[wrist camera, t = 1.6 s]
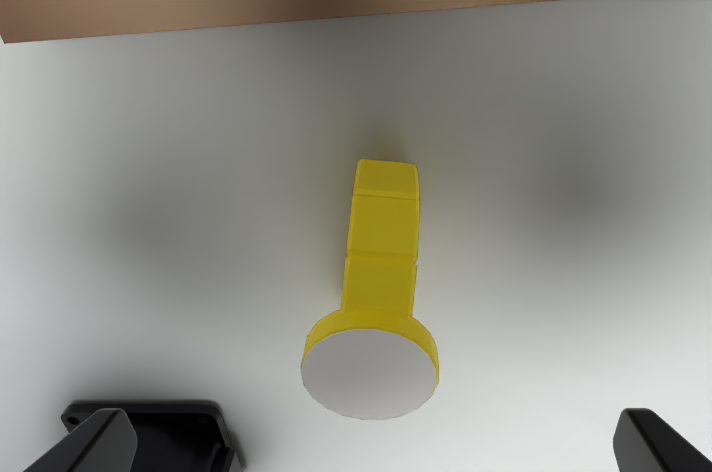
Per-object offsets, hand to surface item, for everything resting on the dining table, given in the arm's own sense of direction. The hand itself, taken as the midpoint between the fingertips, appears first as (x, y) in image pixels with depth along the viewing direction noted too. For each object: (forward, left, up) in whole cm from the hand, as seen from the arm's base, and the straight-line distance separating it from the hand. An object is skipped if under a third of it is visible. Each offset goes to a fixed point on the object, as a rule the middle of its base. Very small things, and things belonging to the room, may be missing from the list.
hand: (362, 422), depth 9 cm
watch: (0, 0, -7) cm, 7 cm away
